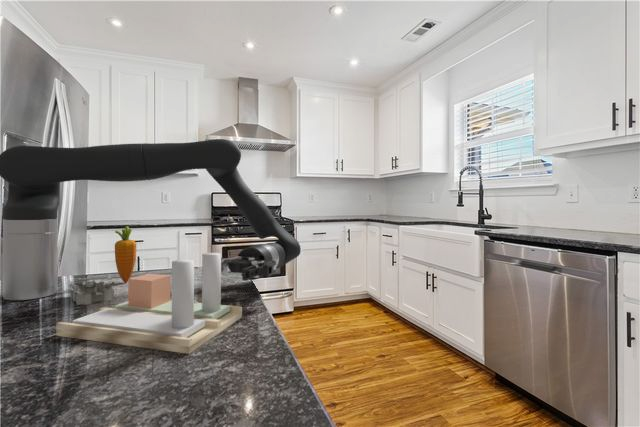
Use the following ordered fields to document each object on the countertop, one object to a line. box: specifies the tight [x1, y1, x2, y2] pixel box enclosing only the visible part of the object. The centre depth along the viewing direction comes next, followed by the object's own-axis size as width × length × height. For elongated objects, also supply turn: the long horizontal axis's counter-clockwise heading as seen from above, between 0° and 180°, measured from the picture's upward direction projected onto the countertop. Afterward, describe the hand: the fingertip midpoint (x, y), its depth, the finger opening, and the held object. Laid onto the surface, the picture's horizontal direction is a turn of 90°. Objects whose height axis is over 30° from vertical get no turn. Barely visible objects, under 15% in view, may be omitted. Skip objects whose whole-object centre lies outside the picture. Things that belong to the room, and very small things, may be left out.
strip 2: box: [114, 252, 231, 319], centre depth 61 cm, size 20×6×11 cm, turn 76°
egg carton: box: [68, 279, 116, 306], centre depth 73 cm, size 11×8×4 cm
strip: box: [72, 259, 205, 337], centre depth 53 cm, size 20×6×11 cm, turn 76°
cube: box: [127, 273, 171, 309], centre depth 62 cm, size 5×5×5 cm
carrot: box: [114, 225, 137, 284], centre depth 87 cm, size 5×5×15 cm
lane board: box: [56, 301, 243, 355], centre depth 57 cm, size 24×16×2 cm, turn 76°
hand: (223, 273), depth 63 cm, fingers open, 8 cm apart
